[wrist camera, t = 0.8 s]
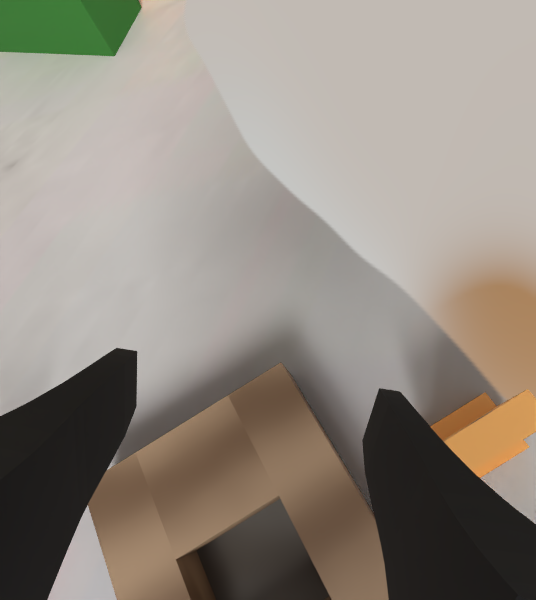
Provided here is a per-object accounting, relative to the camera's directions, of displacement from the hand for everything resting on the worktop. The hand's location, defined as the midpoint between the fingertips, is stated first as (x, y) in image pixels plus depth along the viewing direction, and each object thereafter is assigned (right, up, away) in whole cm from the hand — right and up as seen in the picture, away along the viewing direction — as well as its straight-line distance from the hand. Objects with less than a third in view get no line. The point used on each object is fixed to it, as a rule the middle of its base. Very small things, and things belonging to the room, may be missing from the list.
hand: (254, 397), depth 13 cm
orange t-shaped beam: (+12, -5, +12) cm, 18 cm away
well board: (0, -13, +12) cm, 18 cm away
